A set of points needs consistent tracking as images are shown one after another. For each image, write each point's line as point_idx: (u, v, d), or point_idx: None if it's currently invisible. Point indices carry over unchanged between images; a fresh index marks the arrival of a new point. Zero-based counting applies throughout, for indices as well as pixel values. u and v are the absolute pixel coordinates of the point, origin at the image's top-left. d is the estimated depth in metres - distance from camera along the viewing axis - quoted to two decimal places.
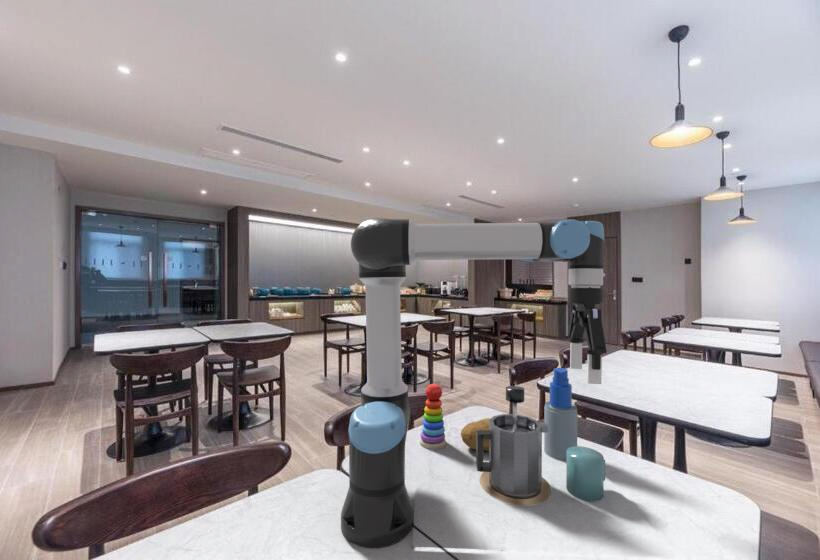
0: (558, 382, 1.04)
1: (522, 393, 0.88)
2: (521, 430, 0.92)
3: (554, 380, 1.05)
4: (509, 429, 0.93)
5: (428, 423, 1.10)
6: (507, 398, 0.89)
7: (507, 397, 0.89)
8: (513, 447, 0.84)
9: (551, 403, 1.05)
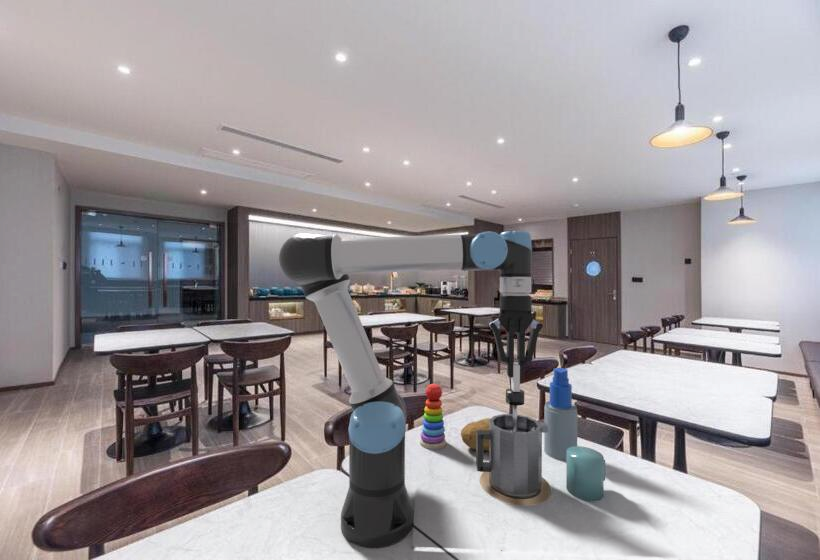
0: (558, 382, 1.04)
1: (522, 396, 0.88)
2: None
3: (554, 380, 1.05)
4: None
5: (428, 423, 1.10)
6: (507, 401, 0.89)
7: (507, 400, 0.89)
8: (513, 447, 0.84)
9: (551, 403, 1.05)
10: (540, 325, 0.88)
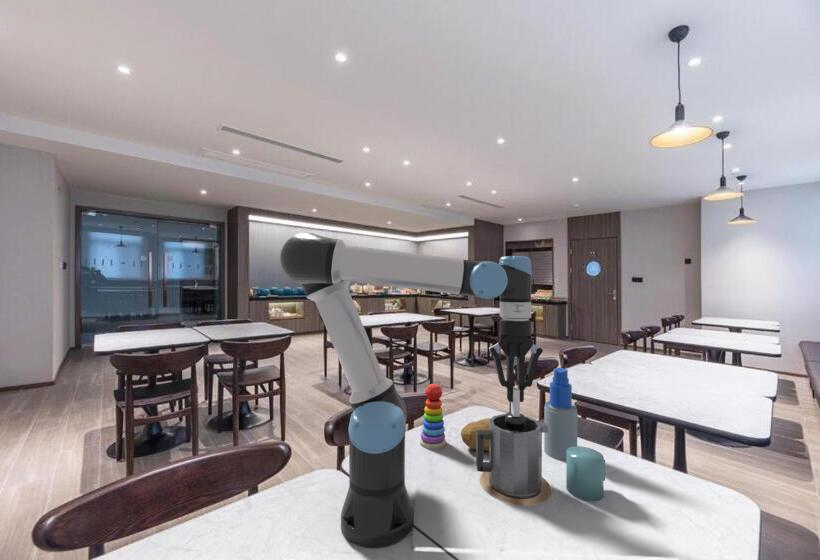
0: (558, 382, 1.04)
1: (522, 420, 0.88)
2: None
3: (554, 380, 1.05)
4: None
5: (428, 423, 1.10)
6: (507, 425, 0.89)
7: (507, 424, 0.89)
8: (513, 447, 0.84)
9: (551, 403, 1.05)
10: (540, 350, 0.88)
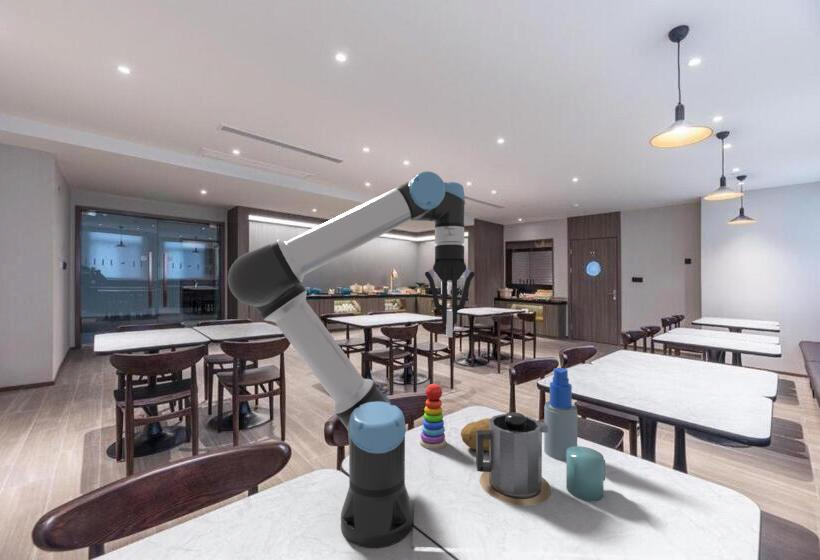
0: (558, 382, 1.04)
1: (522, 421, 0.88)
2: None
3: (554, 380, 1.05)
4: None
5: (428, 423, 1.10)
6: (507, 425, 0.89)
7: (507, 424, 0.89)
8: (513, 447, 0.84)
9: (551, 403, 1.05)
10: (472, 273, 0.92)
